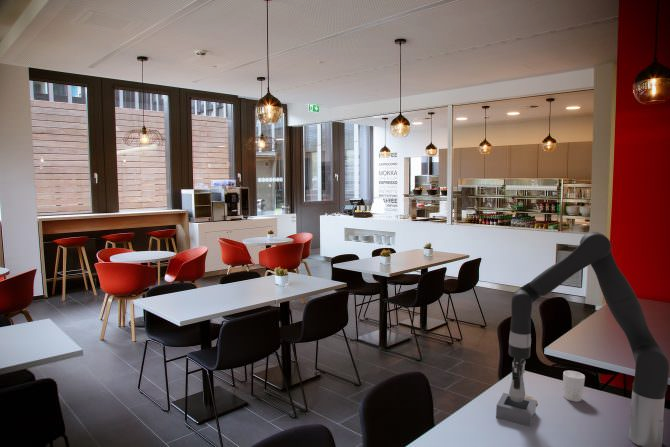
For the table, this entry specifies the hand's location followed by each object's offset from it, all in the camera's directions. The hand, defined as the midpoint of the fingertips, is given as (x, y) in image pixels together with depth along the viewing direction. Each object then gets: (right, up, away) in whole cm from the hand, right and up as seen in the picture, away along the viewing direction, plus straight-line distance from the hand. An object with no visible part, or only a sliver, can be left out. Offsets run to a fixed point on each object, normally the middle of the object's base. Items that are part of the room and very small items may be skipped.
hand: (517, 387), depth 178 cm
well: (0, -11, +1) cm, 11 cm away
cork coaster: (+8, -10, +13) cm, 18 cm away
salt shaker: (0, -5, 0) cm, 5 cm away
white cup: (+29, -10, +16) cm, 35 cm away
